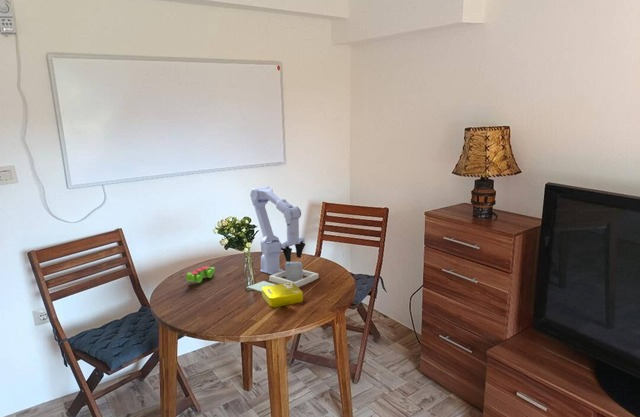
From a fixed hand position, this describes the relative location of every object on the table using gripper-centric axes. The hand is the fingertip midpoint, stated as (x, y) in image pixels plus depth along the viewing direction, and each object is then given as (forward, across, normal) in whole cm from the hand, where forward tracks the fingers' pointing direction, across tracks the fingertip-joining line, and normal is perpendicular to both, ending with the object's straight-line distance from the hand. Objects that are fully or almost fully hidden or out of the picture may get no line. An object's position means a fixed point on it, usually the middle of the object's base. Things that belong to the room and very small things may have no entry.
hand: (293, 259), depth 210 cm
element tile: (+11, -20, -12) cm, 26 cm away
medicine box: (+11, 0, 0) cm, 11 cm away
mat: (+10, -16, +5) cm, 20 cm away
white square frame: (+10, 0, 0) cm, 10 cm away
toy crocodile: (+11, -27, +38) cm, 48 cm away
